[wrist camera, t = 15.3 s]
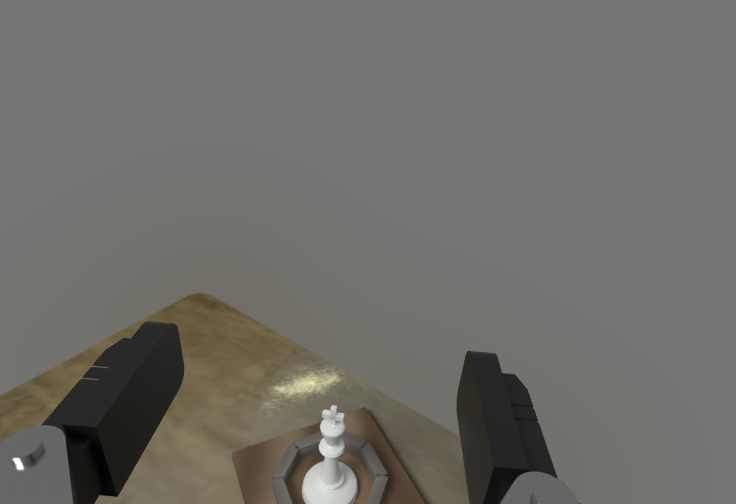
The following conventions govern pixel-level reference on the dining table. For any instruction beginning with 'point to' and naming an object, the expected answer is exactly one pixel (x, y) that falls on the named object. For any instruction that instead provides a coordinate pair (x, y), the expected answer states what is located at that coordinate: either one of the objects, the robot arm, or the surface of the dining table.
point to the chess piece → (330, 467)
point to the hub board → (301, 452)
